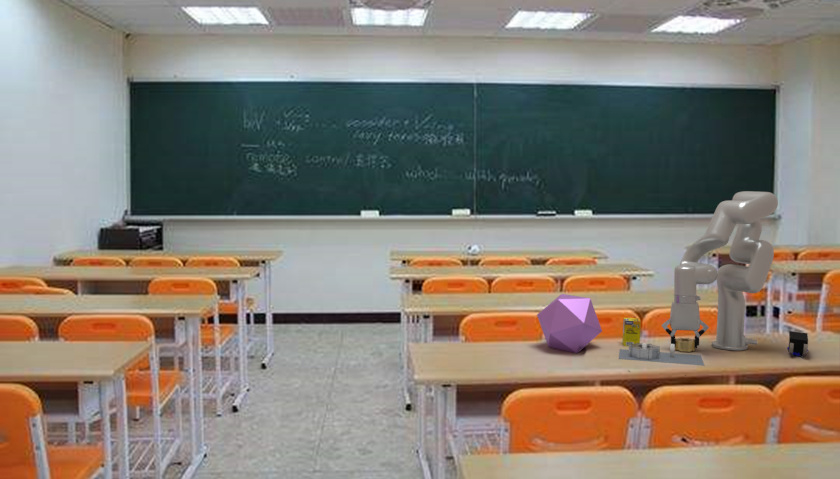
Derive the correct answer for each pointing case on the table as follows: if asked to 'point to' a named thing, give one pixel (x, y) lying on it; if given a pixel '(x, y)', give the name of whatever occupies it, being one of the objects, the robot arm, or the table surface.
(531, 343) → the table surface
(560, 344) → the icosahedron
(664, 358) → the gear board
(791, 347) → the figurine character
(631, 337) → the supplement box
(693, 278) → the robot arm
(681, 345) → the bronze gear
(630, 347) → the steel gear
